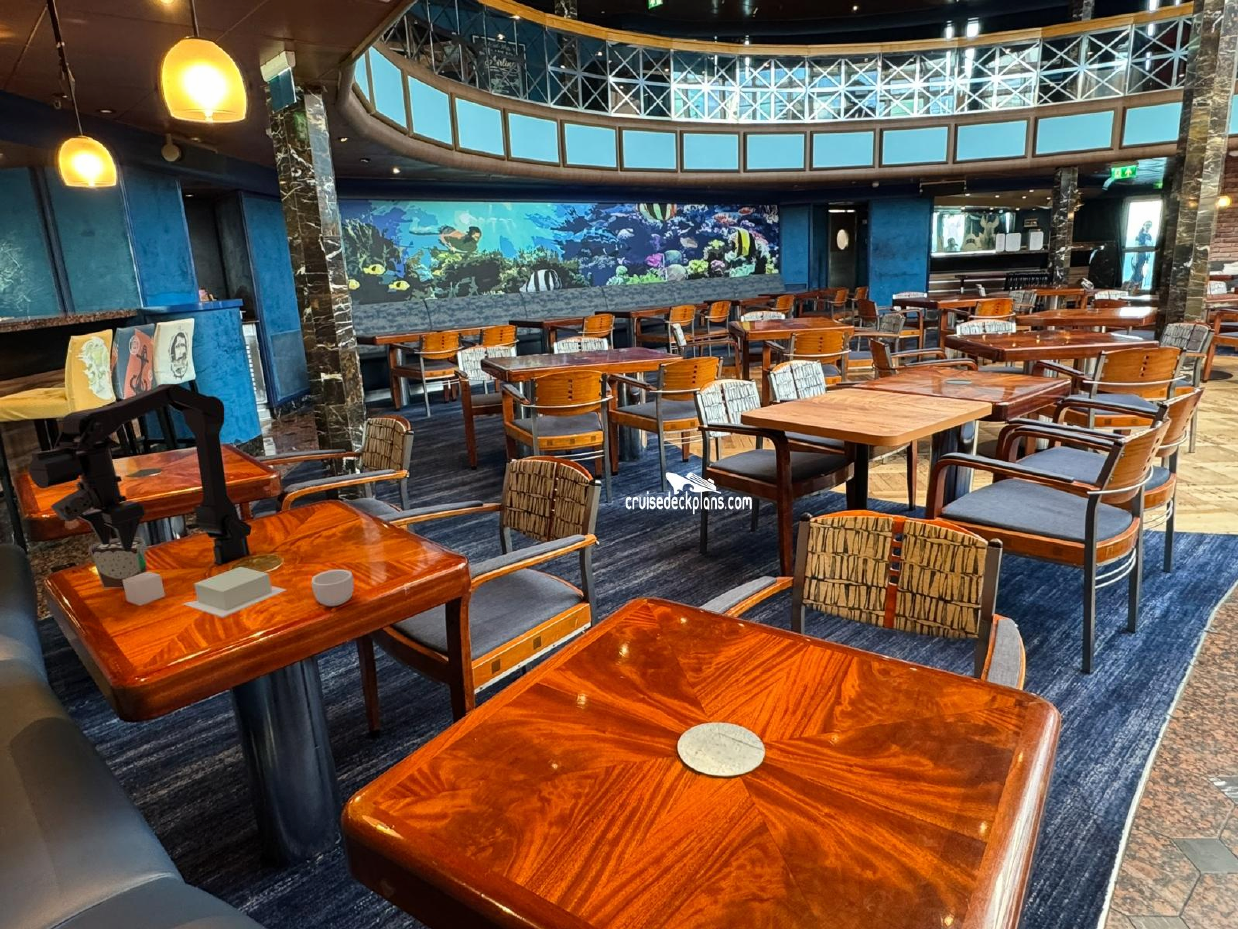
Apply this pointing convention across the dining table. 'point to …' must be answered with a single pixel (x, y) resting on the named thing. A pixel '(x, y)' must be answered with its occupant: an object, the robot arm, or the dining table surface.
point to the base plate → (225, 613)
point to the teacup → (333, 587)
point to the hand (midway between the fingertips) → (116, 547)
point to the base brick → (233, 588)
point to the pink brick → (143, 588)
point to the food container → (118, 561)
